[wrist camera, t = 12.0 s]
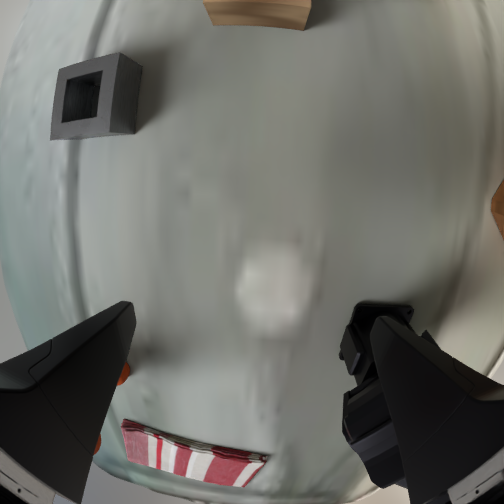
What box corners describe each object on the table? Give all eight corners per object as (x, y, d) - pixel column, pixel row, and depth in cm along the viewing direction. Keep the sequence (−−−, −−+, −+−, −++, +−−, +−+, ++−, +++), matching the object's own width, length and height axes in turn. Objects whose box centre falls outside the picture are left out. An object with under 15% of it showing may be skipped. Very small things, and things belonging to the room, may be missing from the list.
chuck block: (142, 65, 17) (119, 52, 13) (134, 134, 19) (109, 132, 15) (85, 76, 17) (58, 69, 13) (78, 139, 19) (50, 140, 15)
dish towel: (122, 414, 33) (116, 426, 30) (270, 451, 34) (269, 464, 31) (130, 453, 38) (126, 463, 36) (244, 481, 40) (243, 492, 37)
